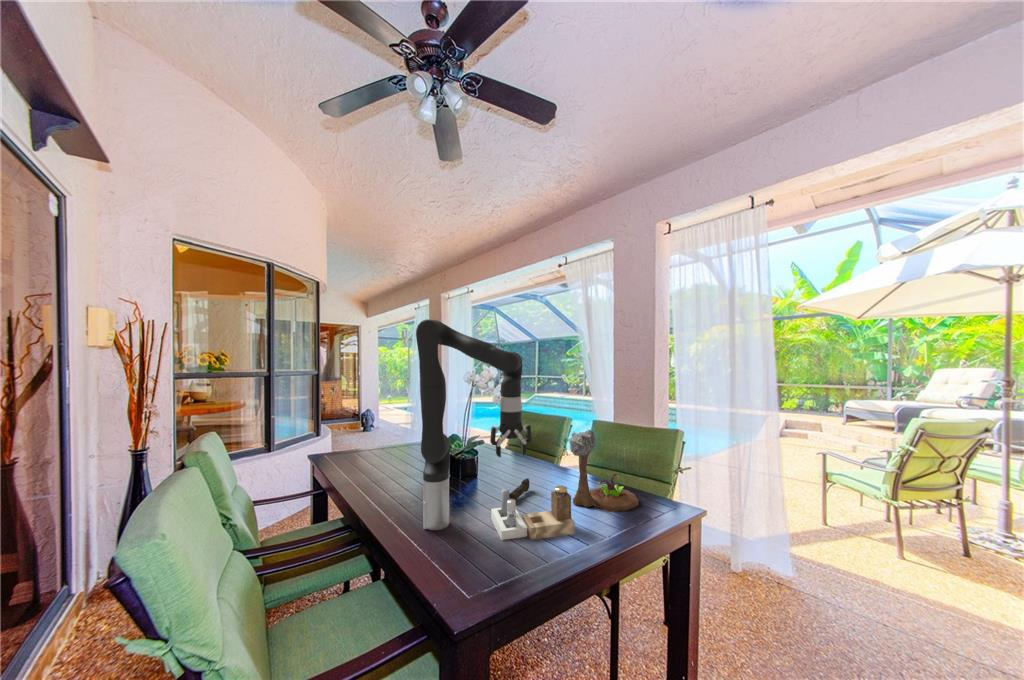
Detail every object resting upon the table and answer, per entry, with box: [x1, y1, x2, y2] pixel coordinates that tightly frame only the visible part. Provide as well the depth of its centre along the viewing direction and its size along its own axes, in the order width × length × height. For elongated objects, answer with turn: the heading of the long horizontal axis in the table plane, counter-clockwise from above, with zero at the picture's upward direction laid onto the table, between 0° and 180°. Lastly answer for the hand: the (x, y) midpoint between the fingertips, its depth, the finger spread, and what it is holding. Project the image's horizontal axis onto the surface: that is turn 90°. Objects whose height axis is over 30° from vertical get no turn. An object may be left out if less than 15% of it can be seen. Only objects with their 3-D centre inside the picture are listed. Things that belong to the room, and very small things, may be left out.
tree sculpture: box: [568, 429, 597, 508], centre depth 151 cm, size 15×10×30 cm
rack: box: [490, 488, 528, 541], centre depth 131 cm, size 9×17×12 cm, turn 15°
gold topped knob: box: [554, 485, 568, 496], centre depth 130 cm, size 4×4×7 cm
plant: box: [589, 473, 640, 513], centre depth 154 cm, size 20×20×11 cm
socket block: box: [521, 490, 576, 541], centre depth 129 cm, size 16×10×13 cm, turn 105°
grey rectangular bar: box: [507, 499, 517, 528], centre depth 127 cm, size 3×3×12 cm
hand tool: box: [509, 478, 530, 501], centre depth 159 cm, size 19×4×5 cm, turn 152°
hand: (511, 455), depth 127 cm, fingers open, 8 cm apart
